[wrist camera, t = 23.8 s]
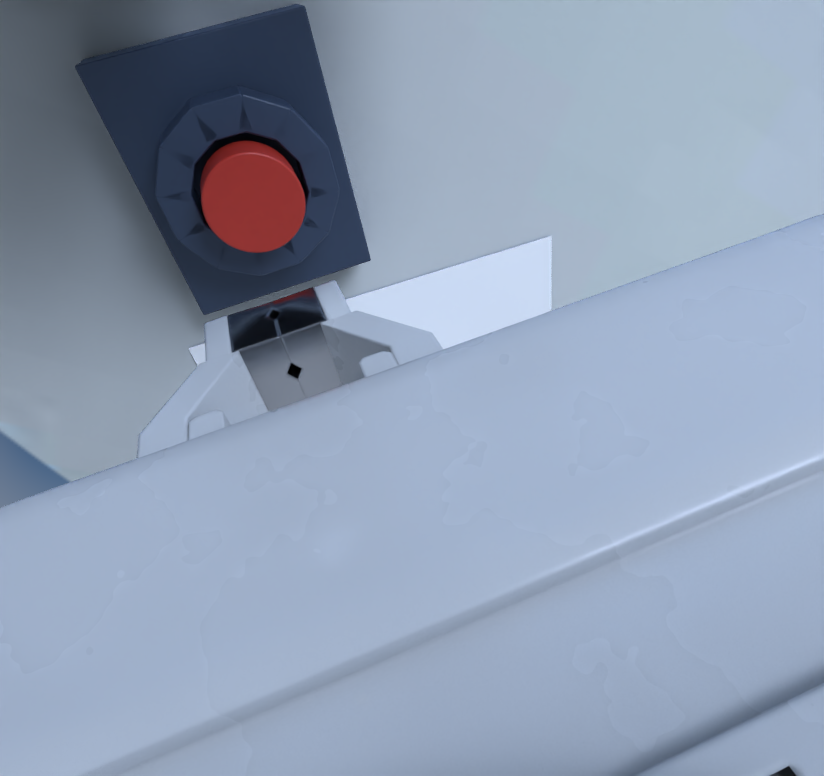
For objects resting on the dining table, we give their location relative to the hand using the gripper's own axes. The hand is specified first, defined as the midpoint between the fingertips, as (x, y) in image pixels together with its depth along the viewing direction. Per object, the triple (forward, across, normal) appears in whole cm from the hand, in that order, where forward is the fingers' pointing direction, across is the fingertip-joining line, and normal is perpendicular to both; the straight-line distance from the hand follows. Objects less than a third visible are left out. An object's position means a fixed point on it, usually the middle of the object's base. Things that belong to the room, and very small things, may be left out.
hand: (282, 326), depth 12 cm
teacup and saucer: (+14, -4, +18) cm, 23 cm away
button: (+11, 0, 0) cm, 11 cm away
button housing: (+14, 0, 0) cm, 14 cm away
